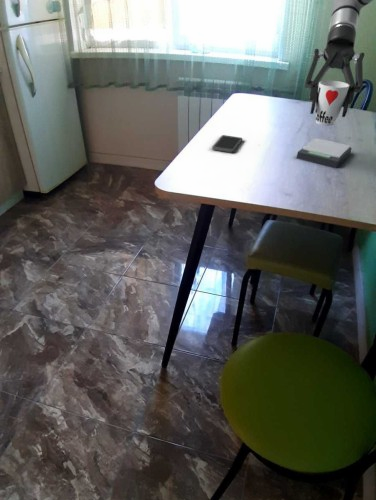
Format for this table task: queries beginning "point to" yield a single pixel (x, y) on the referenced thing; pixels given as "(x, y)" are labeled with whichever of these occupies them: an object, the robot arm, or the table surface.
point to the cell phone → (227, 143)
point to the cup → (330, 101)
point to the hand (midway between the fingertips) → (328, 112)
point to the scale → (324, 152)
